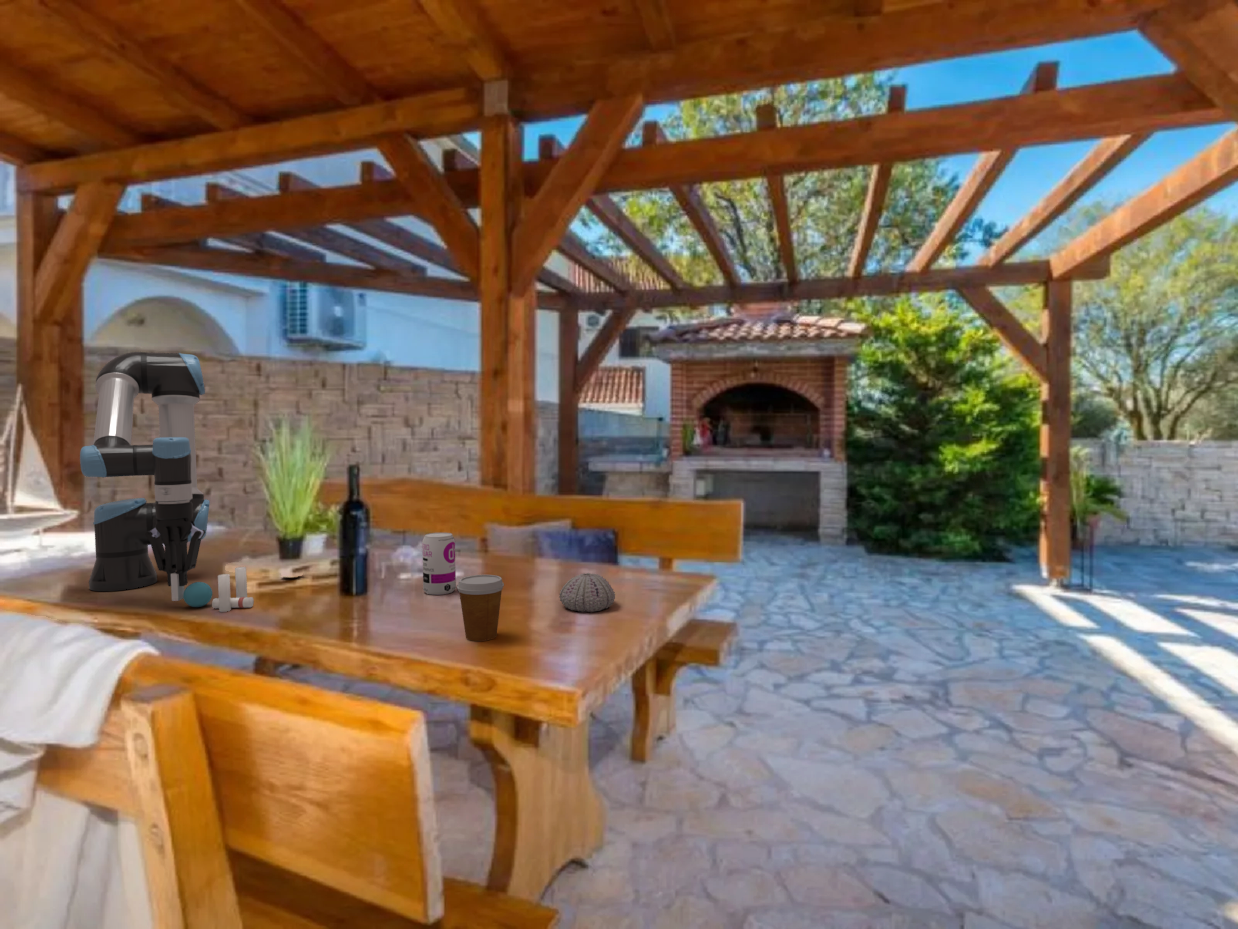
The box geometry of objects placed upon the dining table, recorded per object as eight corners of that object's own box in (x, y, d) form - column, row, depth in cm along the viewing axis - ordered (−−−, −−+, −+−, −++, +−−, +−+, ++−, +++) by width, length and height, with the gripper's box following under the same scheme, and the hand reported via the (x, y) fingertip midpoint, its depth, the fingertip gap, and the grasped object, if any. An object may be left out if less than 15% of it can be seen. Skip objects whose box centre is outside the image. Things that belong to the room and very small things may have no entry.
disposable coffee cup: (461, 630, 147) (460, 574, 146) (506, 629, 148) (505, 573, 147) (454, 644, 138) (453, 585, 137) (502, 643, 139) (501, 584, 138)
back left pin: (236, 601, 172) (234, 567, 171) (247, 600, 173) (245, 566, 172) (236, 603, 170) (235, 569, 169) (247, 602, 171) (246, 568, 170)
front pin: (210, 602, 164) (248, 601, 164) (215, 595, 166) (252, 594, 166) (213, 610, 165) (250, 609, 165) (218, 604, 167) (254, 603, 168)
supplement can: (461, 589, 183) (460, 533, 182) (444, 596, 176) (443, 538, 175) (435, 586, 186) (434, 531, 185) (416, 594, 178) (415, 536, 177)
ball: (207, 573, 168) (221, 593, 168) (197, 584, 171) (211, 604, 171) (183, 584, 163) (198, 604, 163) (173, 595, 166) (188, 615, 165)
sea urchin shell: (622, 602, 170) (621, 569, 170) (606, 617, 157) (606, 582, 157) (571, 598, 174) (570, 566, 174) (551, 612, 161) (551, 578, 161)
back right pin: (218, 610, 164) (217, 574, 163) (230, 608, 165) (229, 573, 164) (219, 612, 162) (218, 576, 161) (231, 611, 163) (229, 575, 162)
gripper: (135, 503, 161) (140, 603, 163) (193, 503, 162) (197, 602, 163) (155, 500, 169) (160, 595, 170) (210, 499, 169) (214, 595, 171)
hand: (178, 599), depth 167 cm, fingers closed
